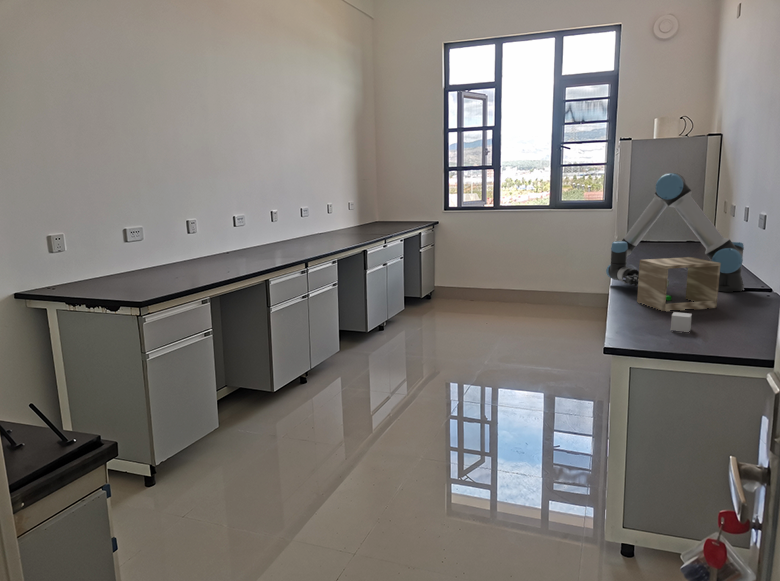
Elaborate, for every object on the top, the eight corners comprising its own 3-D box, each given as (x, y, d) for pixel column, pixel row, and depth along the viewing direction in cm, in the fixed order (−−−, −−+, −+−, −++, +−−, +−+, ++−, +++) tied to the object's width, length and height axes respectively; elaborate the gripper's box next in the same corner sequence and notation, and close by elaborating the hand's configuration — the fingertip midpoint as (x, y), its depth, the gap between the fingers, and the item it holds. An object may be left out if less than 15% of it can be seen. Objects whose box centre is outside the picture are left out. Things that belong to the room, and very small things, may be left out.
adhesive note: (688, 333, 203) (690, 317, 202) (670, 331, 206) (671, 315, 205) (690, 329, 208) (691, 313, 207) (672, 327, 211) (673, 311, 210)
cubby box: (687, 299, 256) (690, 257, 252) (716, 307, 239) (720, 262, 235) (637, 302, 252) (639, 259, 248) (662, 311, 235) (666, 265, 231)
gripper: (649, 282, 281) (679, 290, 259) (607, 284, 277) (634, 293, 256) (650, 267, 280) (680, 274, 258) (608, 269, 276) (635, 277, 254)
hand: (657, 283), depth 257 cm, fingers open, 10 cm apart
